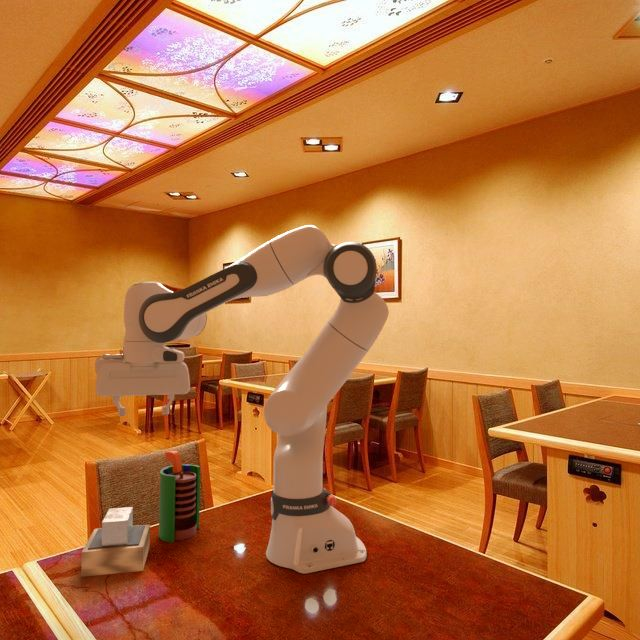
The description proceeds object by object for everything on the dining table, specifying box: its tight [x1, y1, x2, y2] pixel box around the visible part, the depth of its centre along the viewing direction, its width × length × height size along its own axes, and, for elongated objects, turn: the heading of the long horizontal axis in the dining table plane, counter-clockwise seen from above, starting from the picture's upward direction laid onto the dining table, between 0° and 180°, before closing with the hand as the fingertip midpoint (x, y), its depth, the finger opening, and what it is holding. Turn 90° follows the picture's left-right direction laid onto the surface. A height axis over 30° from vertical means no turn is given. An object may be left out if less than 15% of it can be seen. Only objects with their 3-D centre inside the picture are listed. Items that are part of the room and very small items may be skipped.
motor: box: [158, 450, 201, 543], centre depth 125 cm, size 10×9×20 cm
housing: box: [101, 506, 134, 546], centre depth 111 cm, size 9×5×5 cm, turn 12°
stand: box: [80, 524, 151, 578], centre depth 111 cm, size 12×12×5 cm
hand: (144, 414), depth 115 cm, fingers open, 8 cm apart
